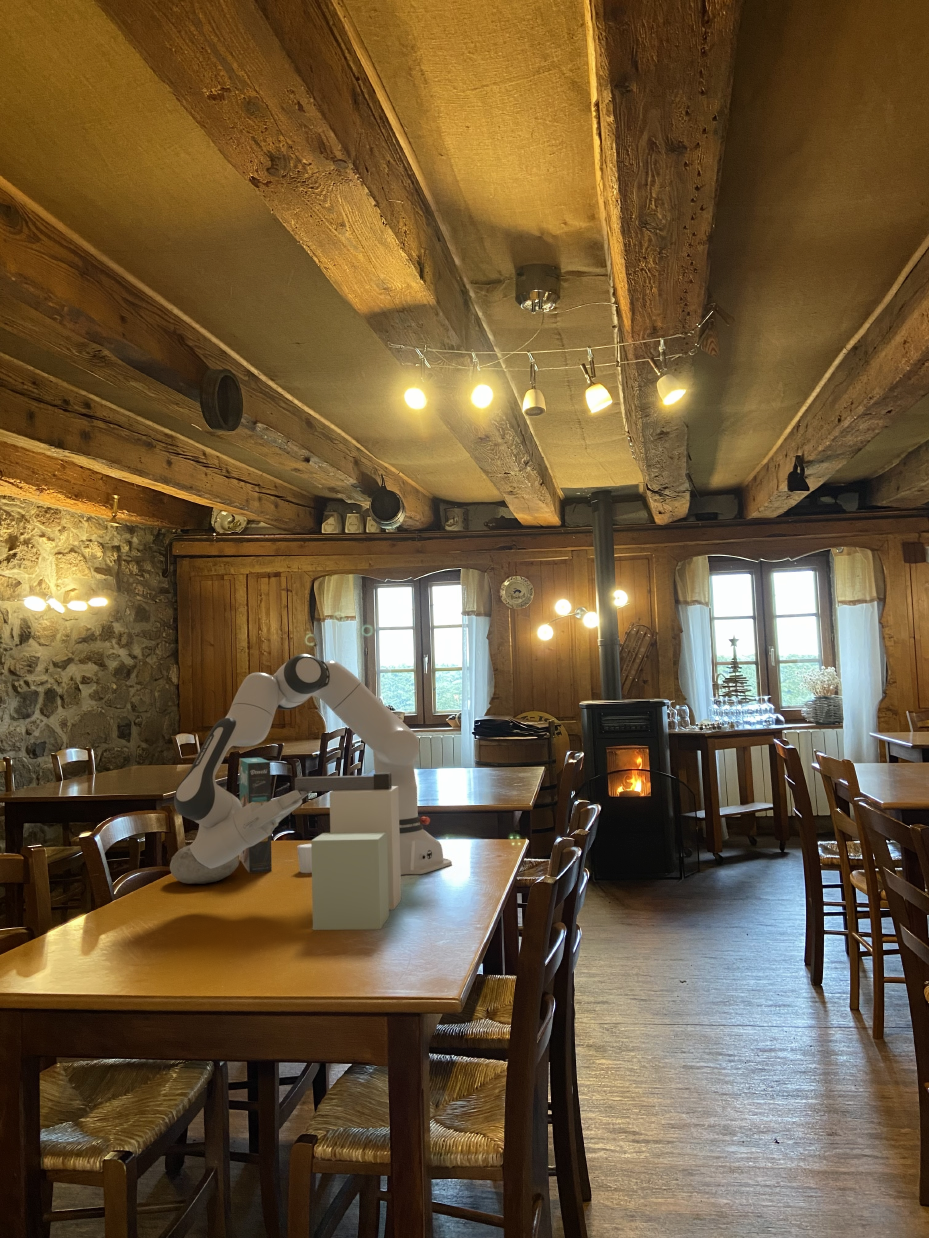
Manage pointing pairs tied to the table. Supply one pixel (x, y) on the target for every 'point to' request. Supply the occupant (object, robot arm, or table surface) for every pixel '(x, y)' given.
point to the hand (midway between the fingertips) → (305, 790)
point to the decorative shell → (198, 868)
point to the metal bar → (344, 783)
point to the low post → (350, 881)
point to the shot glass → (305, 858)
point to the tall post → (371, 825)
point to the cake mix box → (257, 791)
